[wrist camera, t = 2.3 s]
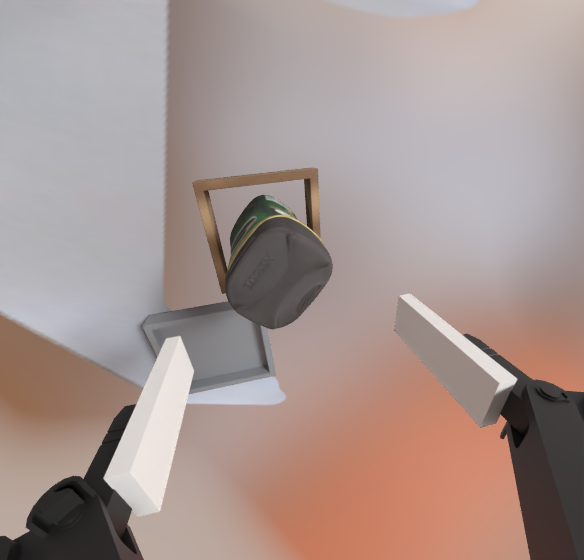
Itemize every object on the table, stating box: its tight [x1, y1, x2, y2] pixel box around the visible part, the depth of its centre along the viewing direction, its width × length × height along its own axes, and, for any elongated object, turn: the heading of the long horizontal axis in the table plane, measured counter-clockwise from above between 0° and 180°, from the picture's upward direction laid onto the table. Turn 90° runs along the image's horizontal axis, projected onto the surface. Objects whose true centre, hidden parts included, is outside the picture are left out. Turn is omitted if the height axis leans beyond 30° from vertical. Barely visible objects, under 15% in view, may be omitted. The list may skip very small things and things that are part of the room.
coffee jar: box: [225, 195, 333, 329], centre depth 27 cm, size 10×8×19 cm
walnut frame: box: [193, 168, 321, 294], centre depth 33 cm, size 15×15×4 cm
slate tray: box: [142, 301, 276, 394], centre depth 41 cm, size 16×18×3 cm
